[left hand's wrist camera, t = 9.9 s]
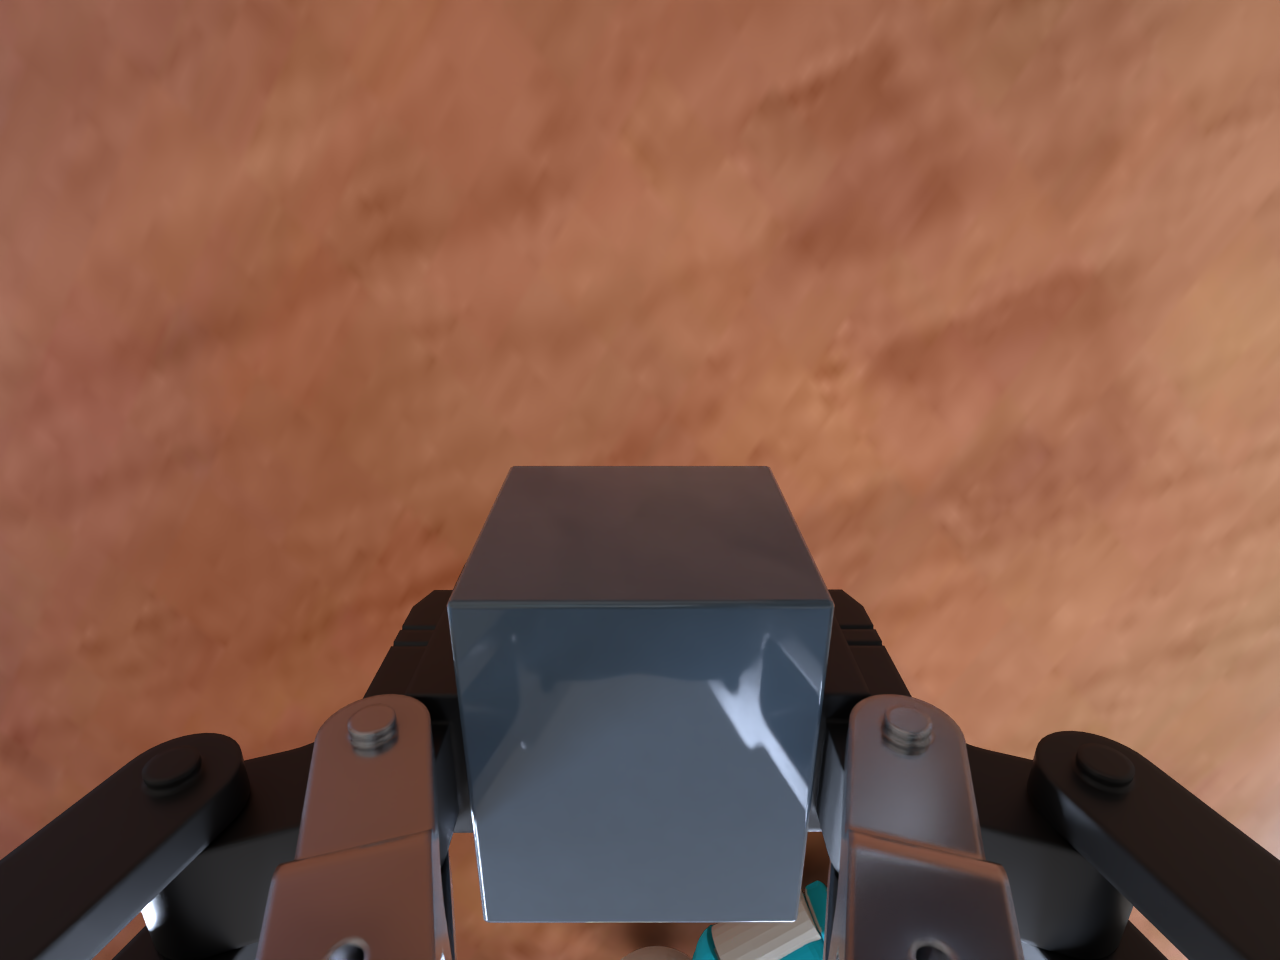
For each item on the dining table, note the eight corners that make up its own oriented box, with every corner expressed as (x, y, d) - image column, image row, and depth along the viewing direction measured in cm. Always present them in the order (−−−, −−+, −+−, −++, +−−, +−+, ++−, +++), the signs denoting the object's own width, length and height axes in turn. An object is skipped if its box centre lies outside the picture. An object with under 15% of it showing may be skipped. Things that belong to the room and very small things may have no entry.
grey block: (509, 464, 12) (444, 603, 8) (771, 464, 12) (837, 602, 8) (527, 712, 14) (481, 925, 10) (752, 712, 14) (799, 925, 10)
